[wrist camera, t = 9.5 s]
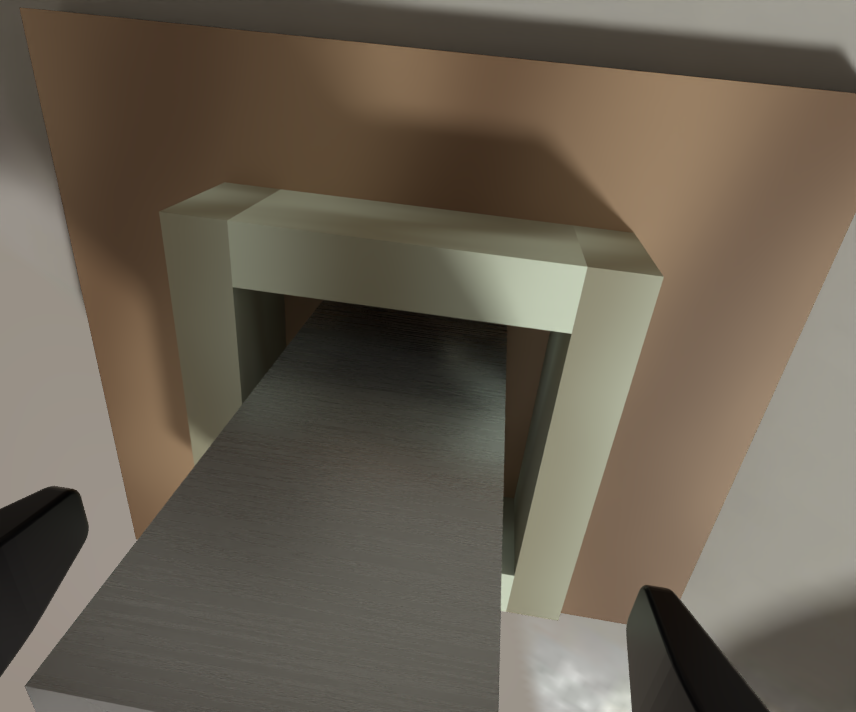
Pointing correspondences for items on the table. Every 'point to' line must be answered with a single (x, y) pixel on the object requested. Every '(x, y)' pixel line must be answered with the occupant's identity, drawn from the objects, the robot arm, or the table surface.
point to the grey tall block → (319, 540)
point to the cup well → (453, 258)
